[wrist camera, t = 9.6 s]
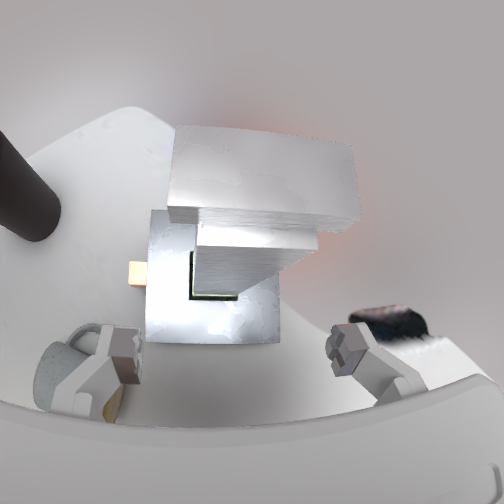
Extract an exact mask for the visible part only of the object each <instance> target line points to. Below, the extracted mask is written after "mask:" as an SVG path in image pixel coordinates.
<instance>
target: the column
mask: <svg viewBox="0 0 504 504" xmlns="http://www.w3.org/2000/svg"><path fill="white" fill-rule="evenodd" d="M167 208H168V213H169V219H170V223H178V224H196V232H195V248H194V256H193V297H215V298H232V297H236V296H237V295H238V294H240V293H242V292H243V291H245V290H247V289H249V288H251V287H253V286H254V285H256V284H258V283H260V282H262V281H263V280H265V279H267V278H269V277H271V276H273V275H274V274H276V273H278V272H280V271H282V270H283V269H285V268H287V267H289V266H290V265H292V264H294V263H296V262H298V261H299V260H301V259H303V258H305V257H306V256H308V255H310V254H312V253H313V252H315V251H317V250H318V235H317V231H330V232H341V231H343V230H345V229H346V228H348V227H349V226H351V225H353V224H354V223H356V222H357V221H359V220H361V219H362V213H361V205H360V197H359V191H358V183H357V176H356V170H355V164H354V158H353V152H352V146H351V145H347V144H342V143H337V142H331V141H325V140H319V139H314V138H308V137H301V136H295V135H288V134H280V133H272V132H264V131H254V130H245V129H235V128H222V127H208V126H191V125H176V132H175V139H174V146H173V154H172V162H171V171H170V180H169V190H168V200H167Z"/></svg>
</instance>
